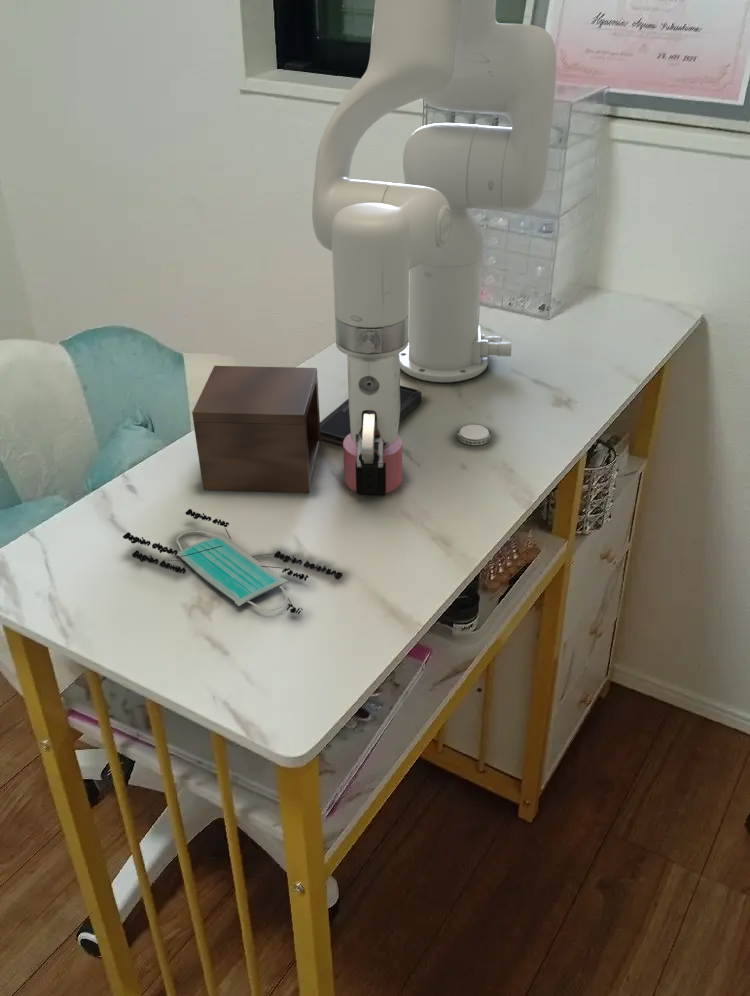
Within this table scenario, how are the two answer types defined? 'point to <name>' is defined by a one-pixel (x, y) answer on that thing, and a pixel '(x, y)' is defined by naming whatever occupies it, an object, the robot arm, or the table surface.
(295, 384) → the desk shelf
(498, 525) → the table surface
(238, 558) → the surgical mask
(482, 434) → the white bottle cap
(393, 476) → the tape roll
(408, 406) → the phone
